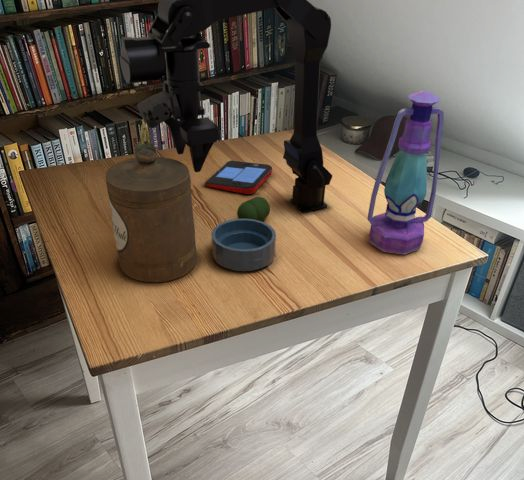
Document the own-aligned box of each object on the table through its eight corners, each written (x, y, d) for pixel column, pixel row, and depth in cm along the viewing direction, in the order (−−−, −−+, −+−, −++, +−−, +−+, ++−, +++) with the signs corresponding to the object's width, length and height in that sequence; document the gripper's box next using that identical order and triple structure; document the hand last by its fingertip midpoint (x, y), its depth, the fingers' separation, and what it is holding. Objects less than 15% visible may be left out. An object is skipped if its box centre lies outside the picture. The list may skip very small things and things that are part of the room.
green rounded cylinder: (258, 211, 126) (258, 190, 123) (274, 219, 124) (275, 198, 120) (232, 223, 122) (232, 202, 118) (248, 232, 119) (249, 210, 116)
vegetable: (158, 220, 122) (148, 126, 109) (139, 217, 123) (127, 124, 109) (165, 210, 125) (156, 119, 112) (146, 208, 126) (135, 117, 113)
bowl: (257, 235, 118) (258, 213, 115) (285, 264, 110) (287, 242, 107) (202, 248, 114) (201, 226, 111) (227, 279, 106) (227, 256, 102)
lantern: (414, 226, 123) (447, 80, 103) (435, 254, 114) (475, 100, 94) (355, 230, 121) (378, 81, 101) (372, 259, 112) (401, 103, 92)
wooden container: (128, 240, 115) (112, 132, 101) (200, 243, 115) (194, 136, 101) (111, 281, 104) (90, 167, 90) (191, 285, 104) (183, 170, 89)
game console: (229, 164, 145) (228, 156, 143) (275, 173, 141) (275, 165, 140) (203, 186, 135) (203, 178, 133) (252, 197, 131) (252, 188, 130)
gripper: (123, 67, 103) (134, 151, 113) (156, 98, 90) (165, 189, 101) (181, 61, 107) (186, 143, 117) (220, 90, 94) (222, 178, 105)
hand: (188, 162), depth 110 cm, fingers open, 9 cm apart
